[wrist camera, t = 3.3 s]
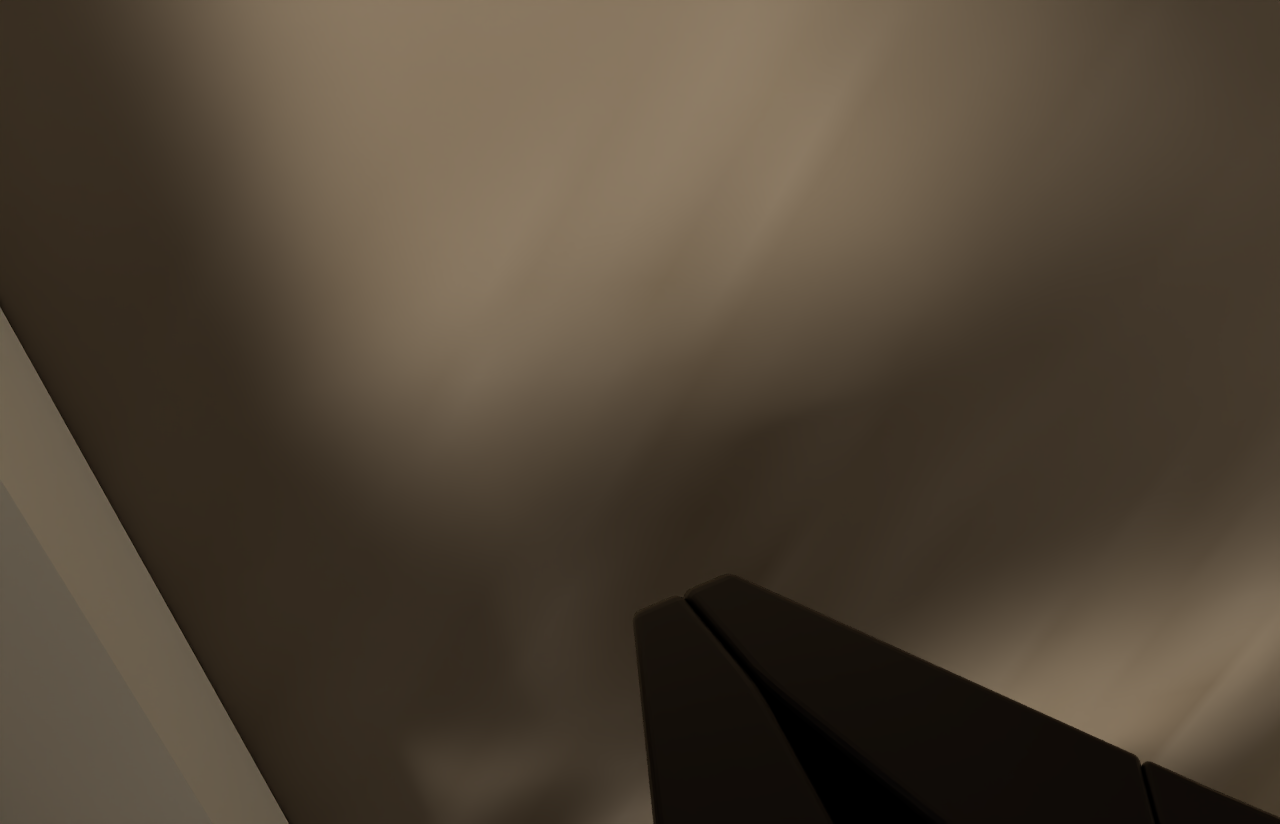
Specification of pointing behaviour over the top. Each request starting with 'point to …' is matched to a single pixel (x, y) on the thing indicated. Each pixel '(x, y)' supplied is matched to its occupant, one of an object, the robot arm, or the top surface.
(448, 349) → the top surface
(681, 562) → the top surface
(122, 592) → the white peg board
